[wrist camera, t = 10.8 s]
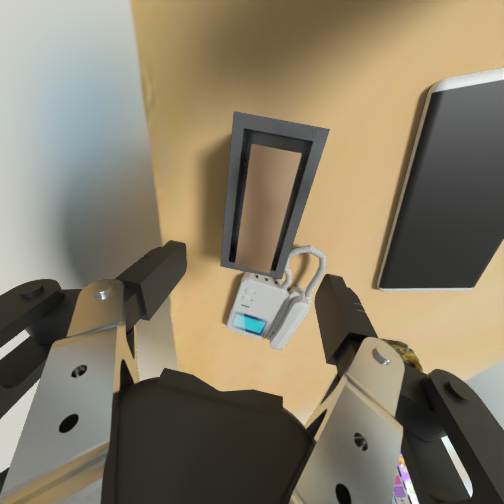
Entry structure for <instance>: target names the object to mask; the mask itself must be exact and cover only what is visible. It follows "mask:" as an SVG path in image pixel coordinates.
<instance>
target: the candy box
mask: <svg viewBox="0 0 504 504" xmlns="http://www.w3.org/2000/svg"><path fill="white" fill-rule="evenodd" d="M393 494H394V497H395V500H396V503H397V504H419V502H418V499H417V496H416V494H415V491H414V488H413V485H412V482H411V479H410V476H409V473H408V471H407V468H406V465H405V462H404V459H403V456H402V453H401V451H400V455H399V461H398V467H397V473H396V479H395V485H394V491H393Z"/></svg>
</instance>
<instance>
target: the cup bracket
mask: <svg viewBox="0 0 504 504" xmlns="http://www.w3.org/2000/svg"><path fill="white" fill-rule="evenodd" d="M329 130H330V129H326V128H320V127H315V126H310V125H304V124H299V123H294V122H288V121H283V120H278V119H272V118H267V117H261V116H256V115H251V114H245V113H240V112H235V111H234V115H233V126H232V138H231V149H230V161H229V172H228V184H227V195H226V207H225V218H224V230H223V241H222V253H221V264H220V266H222V267H226V268H231V269H236V270H240V271H245V272H250V273H254V274H259V275H264V276H268V277H273V278H277V279H282V276H283V273H284V270H285V267H286V264H287V260H288V257H289V254H290V251H291V248H292V245H293V242H294V239H295V236H296V233H297V229H298V226H299V223H300V220H301V217H302V214H303V211H304V208H305V205H306V202H307V199H308V195H309V192H310V189H311V186H312V183H313V180H314V177H315V174H316V171H317V168H318V164H319V161H320V158H321V155H322V152H323V149H324V146H325V143H326V140H327V137H328V133H329ZM252 144H257V145H263V146H268V147H273V148H278V149H283V150H289V151H294V152H298V153H302V155H301V159H300V162H299V166H298V170H297V173H296V177H295V181H294V184H293V188H292V192H291V195H290V199H289V203H288V206H287V210H286V214H285V217H284V221H283V225H282V229H281V232H280V236H279V240H278V243H277V247H276V251H275V254H274V258H273V262H272V265H271V269H270V273H264V272H259V271H255V270H250V269H246V268H241V267H236V266H235V260H236V252H237V245H238V238H239V231H240V224H241V216H242V209H243V202H244V195H245V188H246V180H247V173H248V166H249V159H250V152H251V145H252Z"/></svg>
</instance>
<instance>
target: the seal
mask: <svg viewBox="0 0 504 504" xmlns="http://www.w3.org/2000/svg"><path fill="white" fill-rule="evenodd" d="M380 340H382V341H384V342H386V343H387V344H388V345H390V346H391V347H392V348H393V349H394V350H395V351H396V352H397V353H398V354H399V356H400V357H401V359H402V361H403V363H405V364H407V365H409V366H411V367H413V368H415V369H417V370H419V371H421V372H423V369H422V366H421V365H420V363H419V359H418V357H417V355H416V353H415V351H414V350H413V349H412V348H411V347H410V346H408V345H406V344H404V343H402V342H399V341H392V340H385V339H380Z"/></svg>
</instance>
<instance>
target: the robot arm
mask: <svg viewBox="0 0 504 504" xmlns="http://www.w3.org/2000/svg"><path fill="white" fill-rule="evenodd" d="M186 268H187V258H186V245H185V243H182V242H177V241H173V240H170V241H169V242H168V243H166V244H165V245H164V246H163V247H158V248H155V249H153V250H151V251H149V252H148V253H147V254H145V255H144V257H142V258H140V259H139V260H138V262H135V263H134V264H133V265H132V266H130V267H129V268H128V269H127V270H125V271H124V272H123V273H122V274H120V275H119V276H118V277H117V278H115V279H103V280H99V281H96V282H94V283H92V284H89V285H88V286H86V287H85V288H84V289H70V290H62V289H61V287H60V285H59V283H58V282H57V281H55V280H51V279H41V280H35V281H30V282H27V283H24V284H22V285H19V286H17V287H15V288H13V289H11V290H9V291H8V292H6V293H4V294H2V295H1V296H0V347H2V346H3V345H5V344H6V343H7V342H8V341H10V340H11V339H13V338H14V337H15V336H17V335H18V334H19V333H20V332H22V331H23V330H24V329H25V330H26V331H27V332H28V334H29V335H30V337H28V338H27V339H26V340H25V341H23V342H22V343H21V344H20V345H18V346H17V347H16V348H15V349H13V350H12V351H11V352H10V353H8V354H7V355H6V356H5V357H4V358H2V359H1V360H0V419H1V418H2V416H3V415H5V414H6V413H7V411H8V410H9V409H10V408H11V407H12V406H13V405H14V404H15V403H16V402H17V401H18V400H19V399H20V398H21V397H22V396H23V395H24V394H25V393H26V392H27V391H28V390H29V389H30V388H31V387H32V386H33V385H34V384H35V383H36V382H37V380H39V379H40V381H39V384H38V387H37V390H36V393H35V395H34V399H33V402H32V404H31V407H30V410H29V413H28V416H27V419H26V422H25V424H24V427H23V430H22V433H21V436H20V439H19V442H18V445H17V448H16V451H15V453H14V457H13V459H12V462H11V465H10V467H9V468H7V469H6V470H4V471H3V472H1V473H0V504H391V503H392V497H393V491H394V485H395V479H396V473H397V467H398V461H399V455H400V451H401V453H402V456H403V459H404V462H405V465H406V468H407V471H408V473H409V476H410V479H411V482H412V485H413V488H414V491H415V494H416V496H417V499H418V502H419V504H504V430H503V429H502V427H501V426H500V425H499V423H498V422H497V421H496V419H495V418H494V417H493V415H492V414H491V412H490V411H489V410H488V408H487V407H486V406H485V404H484V403H483V402H482V400H481V399H480V398H479V397H478V395H477V394H476V393H475V392H474V391H473V390H472V389H471V388H470V387H469V386H468V385H467V384H466V383H465V382H463V381H462V380H461V379H459V378H458V377H456V376H455V375H453V374H451V373H449V372H447V371H444V370H440V369H435V370H433V371H432V372H430V373H429V374H428V375H427V374H425V373H423V372H421V371H419V370H417V369H415V368H413V367H411V366H409V365H407V364H405V363H403V361H402V359H401V357H400V356H399V354H398V353H397V352H396V351H395V350H394V349H393V348H392V347H391V346H390V345H388V344H387V343H386V342H384V341H382V340H380V339H379V338H378V336H377V334H376V332H375V330H374V328H373V326H372V324H371V322H370V320H369V318H368V316H367V314H366V313H365V310H364V308H363V306H362V305H361V302H360V300H359V298H358V296H357V295H356V294H355V293H354V292H353V291H352V290H351V289H350V288H348V287H346V284H345V282H344V280H343V278H342V277H340V276H336V275H331V274H326V275H325V276H324V278H323V280H322V282H321V284H320V287H319V289H318V291H317V293H316V295H315V309H316V314H317V318H318V323H319V328H320V333H321V338H322V343H323V348H324V353H325V358H326V363H328V364H332V365H336V367H337V373H336V374H335V375H334V377H333V379H332V381H331V383H330V384H329V386H328V388H327V390H326V391H325V393H324V395H323V397H322V399H321V400H320V402H319V404H318V406H317V407H316V409H315V411H314V412H313V414H312V415H311V416H310V418H309V419H308V421H307V422H306V424H305V426H303V424H302V423H301V422H300V421H299V420H298V419H297V418H296V417H295V416H294V415H293V414H292V413H290V412H289V411H288V410H286V409H285V408H283V397H281V396H277V395H273V394H269V393H265V392H261V391H257V390H239V391H225V392H221V391H218V390H216V389H215V388H213V387H212V386H210V385H208V384H207V383H205V382H204V381H202V380H200V379H199V378H197V377H196V376H194V375H191V374H187V373H183V372H179V371H175V370H171V369H167V368H164V370H163V371H162V373H161V375H160V377H155V378H150V379H146V380H143V381H140V380H139V374H138V367H137V344H136V343H137V342H136V325H135V324H136V323H137V322H138V320H139V319H143V320H148V321H149V320H150V319H151V318H152V316H153V315H154V314H155V312H156V311H157V310H158V308H159V307H160V306H161V304H162V303H163V302H164V301H165V299H166V298H167V297H168V295H169V294H170V293H171V291H172V290H173V289H174V287H175V286H176V285H177V283H178V282H179V281H180V280H181V278H182V277H183V276H184V274H185V272H186ZM444 436H448V438H449V440H450V442H451V443H452V445H453V447H454V449H455V451H456V453H457V455H458V457H459V459H460V460H461V462H462V464H463V466H464V468H465V470H466V472H467V474H468V476H469V478H470V480H471V483H472V488H473V494H472V497H471V498H470V496H469V494H468V492H467V490H466V488H465V486H464V484H463V482H462V480H461V478H460V476H459V474H458V472H457V470H456V468H455V466H454V464H453V462H452V460H451V458H450V456H449V454H448V452H447V450H446V448H445V446H444V444H443V442H442V440H441V438H442V437H444Z"/></svg>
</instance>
